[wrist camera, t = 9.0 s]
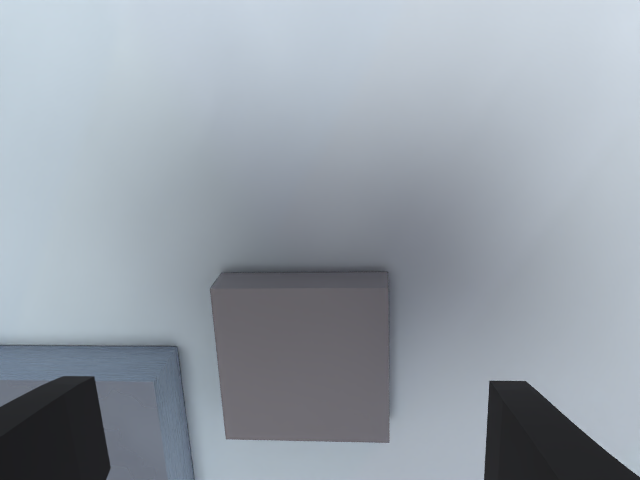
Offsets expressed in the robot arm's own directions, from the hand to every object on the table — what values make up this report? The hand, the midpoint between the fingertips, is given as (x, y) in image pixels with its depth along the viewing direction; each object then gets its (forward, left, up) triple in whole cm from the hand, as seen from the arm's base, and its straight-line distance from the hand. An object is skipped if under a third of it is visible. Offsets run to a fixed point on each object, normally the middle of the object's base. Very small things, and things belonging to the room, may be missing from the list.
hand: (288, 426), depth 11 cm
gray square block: (-4, +1, -10) cm, 11 cm away
